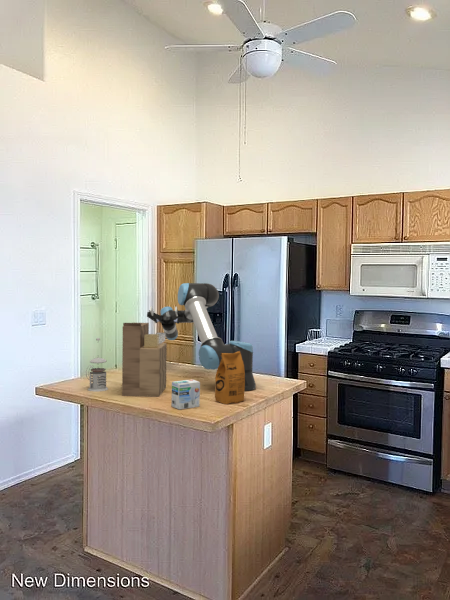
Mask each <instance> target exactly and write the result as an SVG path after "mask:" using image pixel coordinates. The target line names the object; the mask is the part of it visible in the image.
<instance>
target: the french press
mask: <svg viewBox="0 0 450 600" xmlns="http://www.w3.org/2000/svg"><path fill="white" fill-rule="evenodd" d="M95 340H96V341H97V342H99V341H101V338H100V337H97V338H96V339H95ZM106 362H107V359H105V358H102V357H99V356H97V357H95V358H92V359H90V360H89V363H90V364H89V365H88V366H87V368H86V371H85V376H86V379H87V380H88V381H89V387H88V388H87V391H89V392H106V391H108V390H109V388H108V387H107V371H106V369H107V368H103V367H94V365H93V364H103V363H104V364H105V363H106ZM91 364H92V365H91ZM88 368H89V369H88ZM88 377H89V378H88Z"/></svg>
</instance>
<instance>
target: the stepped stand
mask: <svg viewBox="0 0 450 600" xmlns="http://www.w3.org/2000/svg"><path fill="white" fill-rule="evenodd" d="M122 324H123V325H122V355H121V357H122V361H121V363H122V364H121V365H122V367H121V368H122V372H121V373H122V379H121V383H122V385H121V390H122V391H121V396H122V397H149V398H151V397H152V398H153V397H154V398H159V397H160V396H161V395H162V393H164V391H165V390H166V388H167V353H168V352H167V350H168V349H167V346H168V345H167V344H168V343H166V342H165V343H164V342H163V343H161V344H160V345H159V347H158V348H144V335H145V334H150V331H149V329H150V327H149V326H150V324H149V322H123V323H122Z"/></svg>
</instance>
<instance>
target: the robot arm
mask: <svg viewBox="0 0 450 600" xmlns="http://www.w3.org/2000/svg"><path fill="white" fill-rule="evenodd" d="M219 297H220V295H219V291H218V289H217V287H215V285H213V284H211V283H208V282H203V283H199V282H195V283H194V282H192V283H191V282H186V283H185V282H184V283H182V284H180V285H179V287H178V292H177V303H178V304H179V306H184V309H183V310H178V306H175V307H174V309H173V308H172V306H164V307H162V308H161V309H160V314H157V313H156V312H155V311H154V309H153V306H152V305H150V307H149V310H148V311H147V314H146V317H147V318H148V319H150V320H151V321H153V322H154V323H155V324H158V323H160V325H161V326H162V329H163V333H165V339H167V340H169V341H175V340H176V339H177V338H178V337H179V336H178V335H179V334H178V333H179V332H178V329H177V324H184V323H185V324H187V323H188V324H192V323H193V324H194V327H195V330H196V332H197V335H198V337H199V340H200V346H199V347H200V348H199V349H198V356H199V357H198V360H199V362H200V364H201V366H202V367H203V368H204V369H205V370H217V369H218V367H219V365H220V362H221V359H222V356H221V353H235V352H238V351H240V353H241V356H242V360H243V364H244V370H245V390H244V392H248V391H253V390H256V388H257V385H256V381H255V377H254V374H253V373H254V372H253V366H254V365H253V358H254V356H253V355H254V346H253V344H252V343H250V342H244V341H238V340H230V341H229V343H227V344H225V343H224V341H223V339H222V338H221V337H218V334H217V332H216V330H215V327H214V325H213V323H212V320H211V318H210V317H211V316H210V315H209V312H208V310H207V309H208V308H210V307H214V306H215V304H216V303H217V302H218V301H219Z"/></svg>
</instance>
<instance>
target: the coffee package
mask: <svg viewBox="0 0 450 600" xmlns="http://www.w3.org/2000/svg"><path fill="white" fill-rule="evenodd" d="M221 356H222V359H221V362H220V365H219V367H218V369H216V373H215V377H214V379H215V380H214V381H215V384H214V386H215V388H214V398H215V401H216V402H218V403H219V404H223V405H229V404H238V403H241V402H244V401H245V391H244V390H245V370H244V364H243V360H242V356H241V353H240V351H238V352H235V353H221Z"/></svg>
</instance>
